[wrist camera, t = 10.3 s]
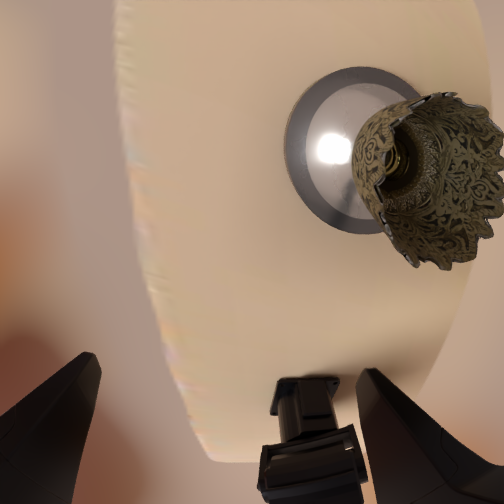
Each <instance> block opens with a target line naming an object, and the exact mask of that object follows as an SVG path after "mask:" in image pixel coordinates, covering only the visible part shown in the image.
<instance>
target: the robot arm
mask: <svg viewBox="0 0 504 504" xmlns="http://www.w3.org/2000/svg"><path fill="white" fill-rule="evenodd" d="M101 373H102V372H101V367H100V365H99V362H98V360H97V357H96V355H95V354H93V353H90V352H83V353H81V354H80V355H78V356H77V357H76V358H74V359H73V360H72V361H70V362H69V363H68V364H66V365H65V366H64V367H63V368H61V369H60V370H59V371H57V372H56V373H55V374H53V375H52V376H51V377H50V378H48V379H47V380H46V381H44V382H43V383H42V384H41V385H39V386H38V387H37V388H36V389H34V390H33V391H32V392H30V393H29V394H28V395H27V396H25V397H24V398H23V399H22V400H20V401H19V402H18V403H16V405H14V406H13V407H11V408H10V409H9V410H8V411H6V412H5V413H4V414H2V415H1V416H0V504H71V503H72V498H73V493H74V488H75V483H76V478H77V474H78V470H79V465H80V461H81V457H82V453H83V449H84V446H85V442H86V438H87V434H88V431H89V427H90V424H91V421H92V417H93V413H94V409H95V404H96V399H97V394H98V388H99V384H100V379H101ZM339 384H340V380H339V378H318V379H282V380H279V381H277V384H276V388H275V392H274V396H273V400H272V404H271V408H270V415H272V416H278V418H279V427H280V437H281V443H279V444H274V445H263V446H262V452H261V457H260V467H259V477H258V483H257V489H258V490H259V491H260V492H261V493H262V496H263V499H264V500H265V502H266V503H269V504H364V499H363V494H362V490H361V485H360V484H363V483H366V482H368V476H367V471H366V466H365V462H364V458H363V455H362V451H361V448H360V445H359V441H358V438H357V435H356V432H355V429H354V425H353V424H350V425H347V426H346V427H343V428H340V429H339V426H338V422H337V418H336V415H335V411H334V407H333V403H332V398H333V396H334V394H335V392H336V390H337V388H338V386H339ZM356 394H357V402H358V409H359V418H360V425H361V430H362V434H363V438H364V442H365V447H366V451H367V456H368V460H369V465H370V469H371V474H372V479H373V484H374V489H375V494H376V500H377V504H504V466H499V465H495V464H492V463H489V462H488V461H486V460H484V459H483V458H482V457H480V456H479V455H477V454H476V453H474V452H473V451H471V450H470V449H469V448H467V447H466V446H465V445H463V444H462V443H461V442H459V441H458V440H457V439H455V438H454V437H453V436H452V435H451V434H449V433H448V432H447V431H446V430H445V429H444V428H442V427H441V426H440V425H439V424H438V423H437V422H436V421H435V420H433V418H431V417H430V416H429V415H428V414H427V413H426V412H425V411H424V410H422V409H421V408H420V407H419V406H418V405H417V404H416V403H415V402H414V401H412V400H411V399H410V398H409V397H408V396H407V395H406V394H405V393H404V392H402V391H401V390H400V389H399V388H398V387H397V386H396V385H395V384H393V383H392V382H391V381H390V380H389V379H388V378H387V377H386V376H385V375H383V374H382V373H381V372H380V371H379V370H378V369H377V368H374V367H373V368H365V369H364V370H363V371H362V373H361V375H360V377H359V379H358V381H357V383H356ZM350 447H352V449H348V450H345V449H347V448H350Z"/></svg>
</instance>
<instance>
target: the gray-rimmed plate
mask: <svg viewBox="0 0 504 504" xmlns="http://www.w3.org/2000/svg"><path fill="white" fill-rule="evenodd" d="M418 97H421V96H420V95H419V94H418V93H417V92H416V91H415V90H414V89H413V88H412V87H411V86H410V85H409V84H408V83H406V82H405V81H404V80H402V79H401V78H399V77H397V76H395V75H394V74H391V73H389V72H386V71H384V70H380V69H376V68H371V67H350V68H346V69H341V70H338V71H336V72H333V73H331V74H329V75H327V76H325V77H323V78H321V79H319V80H318V81H316V82H315V83H314V84H312V85H311V86H310V87H309V88H307V90H306V91H305V92H304V93H303V94H302V95H301V96H300V98H299V99H298V101H297V102H296V104H295V105H294V107H293V109H292V111H291V113H290V115H289V119H288V122H287V125H286V130H285V136H284V156H285V163H286V167H287V171H288V174H289V177H290V179H291V182H292V184H293V186H294V188H295V190H296V191H297V193H298V194H299V196H300V197H301V198H302V200H303V201H304V203H305V204H306V205H307V207H308V208H309V209H310V210H311V211H312V212H313V213H314V214H315V215H316V216H317V217H319V218H320V219H321V220H322V221H324V222H326V223H327V224H329V225H330V226H332V227H335V228H337V229H339V230H342V231H345V232H348V233H354V234H375V233H380V232H384V231H383V230H382V228H381V227H380V226H379V224H378V223H377V222H376V220H375V219H374V218H373V216H372V215H371V214H370V212H369V211H368V209H367V208H366V206H365V205H364V203H363V201H362V199H361V198H360V196H359V194H358V191H357V189H356V186H355V183H354V180H353V176H352V168H351V158H352V150H353V146H354V142H355V139H356V137H357V135H358V133H359V131H360V129H361V128H362V126H363V125H364V123H365V122H366V121H367V120H368V119H369V118H370V117H371V116H372V115H374V114H375V113H377V112H378V111H379V110H381V109H383V108H385V107H387V106H389V105H392V104H395V103H398V102H401V101H405V100H409V99H413V98H418ZM389 160H390V150H389V151H387V154H386V158H385V166H386V165H387V164H388V162H389Z"/></svg>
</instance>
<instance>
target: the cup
mask: <svg viewBox="0 0 504 504" xmlns="http://www.w3.org/2000/svg"><path fill="white" fill-rule="evenodd" d="M457 94H458V93H455V92H445V93H441V92H438V93H434V94H431V95H428V96H422V97H418V98H413V99H409V100H405V101H401V102H398V103H395V104H392V105H389V106H387V107H385V108H383V109H381V110H379V111H378V112H377V113H375V114H374V115H372V116H371V117H370V118H369V119H368V120H367V121H366V122H365V123H364V125H363V126H362V128H361V129H360V131H359V133H358V135H357V137H356V139H355V142H354V146H353V150H352V158H351V168H352V176H353V180H354V183H355V186H356V189H357V191H358V194H359V196H360V198H361V199H362V201H363V203H364V205H365V206H366V208H367V209H368V211H369V212H370V214H371V215H372V216H373V218H374V219H375V220H376V222H377V223H378V224H379V226H380V227H381V228H382V230H383V231H384V232H385V234H386V235H387V236H388V238H389V239H390V240H391V242H392V244H393V246H394V248H395V249H396V250H397V251H398V252H399V253H401V254H402V255H403V256H404V257H405V259H406V260H407V261H408V262H409V263H410V264H411V265H412V266H413V267H415V268H418V267H419V266H420V262H419V260H420V261H422V262H424V263H426V262H427V261H432V262H433V263H435V264H436V265H437V266H438V267H439V269H440V270H447V271H450V270H451V268H452V262H457V263H464V262H468V261H471V260H474V259H475V258H476V255H477V247H478V246H477V243H478V240H479V238H478V237H480V238H481V237H482V238H484V239H489V238H491V237H493V235H494V233H493V229H492V227H491V225H490V224H489V222H488V219H495V218H499V217H501V216H502V215H503V213H504V204H503V202H502V199H503V198H504V183H503V179H502V177H501V176H500V175H498V173H497V172H500V171H503V170H504V158H503V157H502V156H500V150H501V148H502V146H503V138H504V133H503V131H502V130H501V129H500V128H499V127H498V126H497V125H496V124H495V123H493V121H492V120H491V119H490V118H489V112H488V110H487V109H486V108H485V107H483V106H481V105H471V104H466V103H464V102H462V99H460V98H456V97H452V96H455V95H457ZM389 150H390V160H389V162H388V164H387V165H386V166H385V158H386V154H387V151H389ZM485 218H486V221H487V222H486V221H485ZM487 223H488V224H487Z"/></svg>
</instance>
